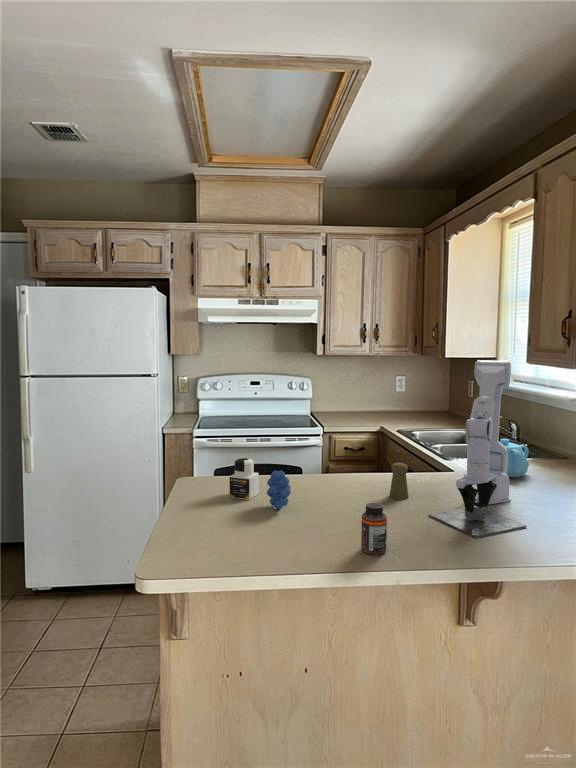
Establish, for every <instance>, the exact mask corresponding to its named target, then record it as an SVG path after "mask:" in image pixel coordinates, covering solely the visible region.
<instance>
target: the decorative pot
mask: <svg viewBox="0 0 576 768" xmlns="http://www.w3.org/2000/svg"><path fill="white" fill-rule="evenodd" d="M499 439H500V441H499V442H500V443H502V444H503V445H504V446H505V447H506V448H507V450H508V466H507V471H506V472H505V473H506V474H507V475H508V477H509V478H514V479H520V478H521V477H523V476H525V475H526V474H527V472H528V467H529V466H530V462H529V461H528V460H527V459H528V456H529V453H530V451H529V448H528V447H527V446H526V445H523V444H517V443H514V442H511V441H510V439H508V438H499ZM523 449H524V450H523ZM490 451H492V452H499V451H493V450H490Z"/></svg>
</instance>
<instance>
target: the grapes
mask: <svg viewBox="0 0 576 768" xmlns="http://www.w3.org/2000/svg"><path fill="white" fill-rule="evenodd" d="M266 484H267V485H268V487H269V488H268V489H267V491H266V494H267V496H268V497H270V498H269V502H268V503H270V505H271V506H273V507H275V509H276V510H281V509H282V508H283V507H285V506H287V505H288V504H289V498H288V497H289V496H290V495H291V493H292V490H291V488H292V487H291V485H290V478H288V477H287V476H286V473H285V472H284V471H283V470H274V471H273V472H272V473H271V474H270V478H269V479H268V480H267V482H266Z"/></svg>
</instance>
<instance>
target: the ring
mask: <svg viewBox="0 0 576 768" xmlns="http://www.w3.org/2000/svg"><path fill="white" fill-rule="evenodd" d="M486 510H487V509H486V505H485V504H484V503H481V502H479V501H478V500H475V503H474V511H473V512H472V513H471V512H468V511H466V510H465V517H467V518H469V519H472V520H483V519H485V513H486Z"/></svg>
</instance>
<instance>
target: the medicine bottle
mask: <svg viewBox="0 0 576 768" xmlns="http://www.w3.org/2000/svg"><path fill="white" fill-rule="evenodd" d="M254 463H255V462H254V460H253V459H251V458H248V457H247V458H246V457H245V458H244V457H243V458H238V459H236V460H235V461H234V473H233V474H231V475H229V498H230V497H232V498H231V499H236V498H238V500H244V499H246V500H245V501H250V500H252V499H253V498H255V497H256V496H258V495H259V494H260V490H259V489H260V485H259V484H260V483H259V482H260V481H259V478H260V477H259V476H260V474H259V472H254V470H255V469H254V467H255V465H254ZM257 494H258V495H257ZM254 496H255V497H254ZM251 498H252V499H251Z"/></svg>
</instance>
